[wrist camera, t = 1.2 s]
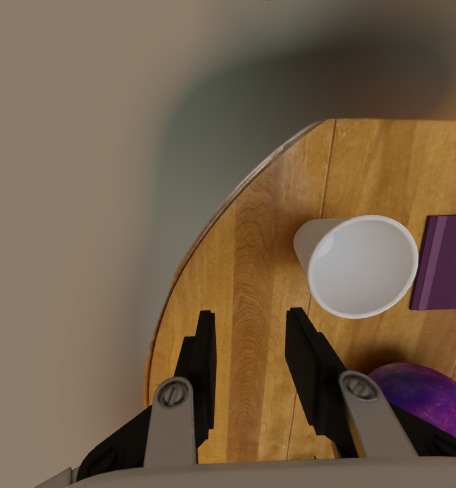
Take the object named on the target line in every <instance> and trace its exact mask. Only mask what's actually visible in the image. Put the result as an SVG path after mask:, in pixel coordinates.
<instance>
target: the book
mask: <svg viewBox="0 0 456 488" xmlns="http://www.w3.org/2000/svg"><path fill="white" fill-rule="evenodd" d="M409 309H410V310H418V311H420V310H434V309H456V215H440V216H428V217H427V222H426V227H425V232H424V237H423V242H422V246H421V251H420V256H419V261H418V268H417V272H416V276H415V281H414V286H413V291H412V296H411V301H410V306H409Z"/></svg>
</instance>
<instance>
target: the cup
mask: <svg viewBox="0 0 456 488" xmlns="http://www.w3.org/2000/svg"><path fill="white" fill-rule="evenodd" d="M293 245H294V250H295V253H296V255H297V257H298V259H299V262H300V264H301V266H302V268H303V270H304V273H305V275H306V277H307V280H308V286H309V289H310V292H311V294H312V296H313V297H314V299H315V301H316V302H317V303H318V304H319V305H320V306H321V307H322V308H323V309H325V310H326V311H328V312H329V313H331V314H334V315H336V316H339V317H344V318H354V319H359V318H365V317H370V316H373V315H376V314H379V313H381V312H383V311H385V310H387V309H389V308H390V307H391V306H393V305H394V304H395V303H397V302H398V301H399V300H400V299H401V298H402V297H403V296H404V295H405V293H406V292H407V291H408V289H409V288H410V286H411V285H412V282H413V280H414V278H415V276H416V272H417V268H418V250H417V245H416V243H415V241H414V239H413V237H412V235H411V234H410V233H409V231H408V230H407V229H406V228H405V227H404V226H403V225H401V224H400V223H399V222H397V221H395V220H393V219H391V218H388V217H384V216H380V215H363V216H357V217H353V218H336V219H314V220H310V221H308V222H306V223H304V224H303V225H302V226H301V227H300V228H299V229H298V230H297V232H296V234H295V237H294V241H293Z"/></svg>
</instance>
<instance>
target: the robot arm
mask: <svg viewBox="0 0 456 488" xmlns="http://www.w3.org/2000/svg"><path fill="white" fill-rule="evenodd" d="M285 358H286V361H287V364H288V367H289V370H290V373H291V376H292V379H293V381H294V384H295V387H296V390H297V393H298V396H299V398H300V401H301V404H302V407H303V410H304V413H305V415H306V418H307V421H308V424H309V425H310V426H311V425H313V427H314V429H315V432H316V435H325V436H326V437H328V438H329V439H330V440H331V444H332V449H333V452H334V456H335V459H313V460H285V461H259V462H235V463H213V464H199V463H198V447H199V446H200V445H201V444H202V443H203V442H204V441H205V440H206V439H208V432H209V429H213V428H214V408H215V387H216V365H217V352H216V332H215V313H211V310H204V311H200V315H199V320H198V325H197V330H196V335H195V336H190V337H184V340H183V344H182V347H181V351H180V355H179V359H178V362H177V366H176V370H175V374H174V377H172V378H169V379H167V380H165V381H164V382H162V383H161V384H160V385H159V386H158V388H157V389H156V391H155V394H154V398H153V404H152V405H151V406H149V407H148V408H147V409H145V410H144V411H143V412H141V413H140V414H139V415H137V416H136V417H135V418H133V419H132V420H131V421H129V422H128V423H127V424H125V425H124V426H123V427H121V428H120V429H119V430H117V431H116V432H115V433H113V434H112V435H111V436H109V437H108V438H107V439H105V440H104V441H103V442H101V443H100V444H99V445H98V446H96V447H95V448H94V449H93V450H92V451H91V452H90V453H89V454H88V455H87V456H86V458H85V459H84V460H83V462H82V463H81V465H80V466H79V467H77V468H75V469H74V470H72V469H71V467H70V468H68V469H66V470H64V471H62V472H61V473H59V474H58V475H56V476H54V477H52V478H50V479H49V480H47V481H45V482H43V483H42V484H40V485H38V486H36V487H35V488H456V438H455V437H454V436H452V435H451V434H449V433H447V432H445V431H443V430H442V429H440V428H438V427H436V426H434V425H432V424H430V423H428V422H426V421H425V420H423V419H421V418H419V417H417V416H415V415H413V414H411V413H410V412H408V411H406V410H404V409H402V408H400V407H398V406H396V405H394V404H393V403H391V402H389V401H387V399H386V398H385V396H384V394H383V392H382V391H381V389H380V387H379V386H378V385H377V383H376V382H375V381H373V380H372V379H371V378H370V377H368V376H366V375H365V374H362V373H360V372H356V371H347V369H346V368H345V366H344V365H343V363H342V362H341V360H340V359H339V357H338V356H337V354H336V353H335V351H334V350H333V348H332V347H331V345H330V344H329V342H328V341H327V339H326V338H325V336H324V335H323V333H321V332H317V331H316V329H315V328H314V326H313V324H312V323H311V321H310V320H309V318H308V317H307V315H306V313H305V312H304V310H303V309H302V307H296V308H290V310H288V311H287V316H286V338H285Z"/></svg>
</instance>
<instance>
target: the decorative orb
mask: <svg viewBox="0 0 456 488" xmlns="http://www.w3.org/2000/svg"><path fill="white" fill-rule="evenodd" d="M367 376H368V377H370V378H371V379H372V380H373V381H375V382H376V383H377V385H378V386H379V387H380V389H381V391H382V392H383V394H384V396H385V398H386V399H387V401H389V402H391V403H393V404H394V405H396V406H398V407H400V408H402V409H404V410H406V411H408V412H410V413H411V414H413V415H415V416H417V417H419V418H421V419H423V420H425V421H426V422H428V423H430V424H432V425H434V426H436V427H438V428H440V429H442V430H443V431H445V432H447V433H449V434H451V435H452V436H454V437H455V438H456V382H455V381H454V380H452V379H451V378H449V377H447V376H445V375H443V374H442V373H440V372H437V371H435V370H433V369H430V368H427V367H424V366H420V365H416V364H411V363H391V364H386V365H383V366H380V367H378V368H376V369H375V370H373V371H372V372H370V373H369V374H368V375H367Z"/></svg>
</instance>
